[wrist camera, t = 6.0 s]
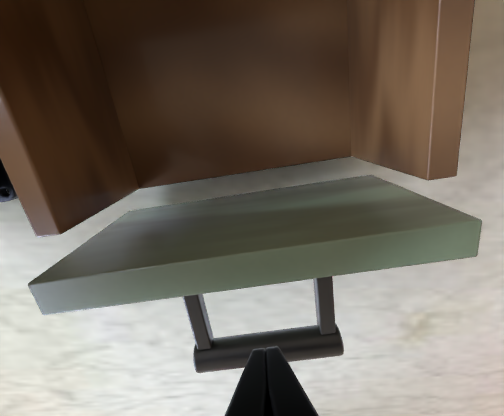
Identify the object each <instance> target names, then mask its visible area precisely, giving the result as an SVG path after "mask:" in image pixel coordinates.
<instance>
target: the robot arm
mask: <svg viewBox="0 0 504 416" xmlns="http://www.w3.org/2000/svg"><path fill="white" fill-rule="evenodd" d="M7 189H8V190H9V192H10V194H9V193H8V192H7ZM16 198H18V196H17V194H16V192H15V189H14V187H13V185H12V183H11V181H10V178H9V176H8V174H7V172H6V170H5V168H4V165H3V163H2V161H1V159H0V202H5V201H10V200H13V199H16ZM225 416H319V415H318V414H317V412H316V410H315V408H314V407H313V405H312V403H311V402H310V400H309V398H308V396H307V395H306V393H305V391H304V390H303V388H302V386H301V384H300V383H299V381H298V379H297V378H296V376H295V374H294V372H293V371H292V369H291V367H290V365H289V364H288V362H287V360H286V359H285V357H284V355H283V353H282V352H281V350H280V348H279V347H277V346H275V347H268V348H266V350H265V348H259V349H253V350H252V352H251V354H250V357H249V359H248V361H247V364H246V366H245V369H244V371H243V373H242V376H241V378H240V380H239V383H238V385H237V388H236V390H235V392H234V395H233V397H232V399H231V402H230V404H229V407H228V409H227V411H226V414H225Z"/></svg>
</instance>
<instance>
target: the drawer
mask: <svg viewBox="0 0 504 416" xmlns="http://www.w3.org/2000/svg"><path fill="white" fill-rule="evenodd" d="M474 3H475V0H0V159H1V161H2V163H3V165H4V168H5V170H6V172H7V174H8V176H9V178H10V181H11V183H12V185H13V187H14V189H15V192H16V194H17V196H18V198H19V200H20V202H21V205H22V207H23V209H24V211H25V213H26V215H27V218H28V220H29V222H30V224H31V226H32V229H33V231H34V233H35V235H36V236H37V237H45V236H51V235H58V234H62V233H64V232H66V231H67V230H69V229H71V228H73V227H74V226H76V225H78V224H79V223H81V222H83V221H85V220H86V219H88V218H90V217H91V216H93V215H95V214H97V213H98V212H100V211H102V210H103V209H105V208H107V207H109V206H110V205H112V204H114V203H116V202H117V201H119V200H121V199H122V198H124V197H126V196H128V195H129V194H131V193H133V192H134V191H136V190H138V189H141V188H148V187H155V186H161V185H168V184H174V183H181V182H187V181H194V180H200V179H207V178H214V177H220V176H227V175H233V174H240V173H246V172H253V171H259V170H266V169H273V168H279V167H286V166H292V165H299V164H305V163H312V162H318V161H325V160H332V159H338V158H345V157H351V156H352V157H355V158H358V159H361V160H364V161H368V162H371V163H374V164H377V165H380V166H384V167H387V168H390V169H393V170H396V171H400V172H403V173H406V174H409V175H413V176H416V177H419V178H422V179H425V180H434V179H441V178H447V177H454V176H456V175H457V167H458V157H459V148H460V138H461V128H462V119H463V109H464V99H465V90H466V80H467V70H468V61H469V51H470V41H471V32H472V22H473V12H474ZM481 226H482V220H481V219H478V218H476V217H473V216H471V215H468V214H466V213H464V212H461V211H459V210H456V209H454V208H451V207H449V206H446V205H444V204H442V203H439V202H437V201H434V200H432V199H429V198H427V197H424V196H422V195H420V194H417V193H415V192H412V191H410V190H407V189H405V188H403V187H400V186H398V185H395V184H393V183H390V182H388V181H385V180H383V179H381V178H378V177H376V176H373V175H366V176H360V177H353V178H346V179H340V180H333V181H326V182H320V183H313V184H306V185H299V186H293V187H286V188H279V189H273V190H266V191H259V192H253V193H246V194H239V195H233V196H226V197H219V198H212V199H206V200H199V201H192V202H186V203H179V204H172V205H166V206H159V207H152V208H146V209H139V210H132V211H128V212H127V213H126V214H124V215H123V216H121V217H120V218H119V219H117V220H116V221H115V222H113V223H112V224H110V225H109V226H108V227H106V228H105V229H103V230H102V231H101V232H99V233H98V234H96V235H95V236H94V237H92V238H91V239H89V240H88V241H87V242H85V243H84V244H82V245H81V246H80V247H78V248H77V249H76V250H74V251H73V252H71V253H70V254H69V255H67V256H66V257H64V258H63V259H62V260H60V261H59V262H57V263H56V264H55V265H53V266H52V267H50V268H49V269H48V270H46V271H45V272H43V273H42V274H41V275H39V276H38V277H37V278H35V279H34V280H32V281H31V282H30V283H28V286H29V288H30V290H31V292H32V294H33V296H34V298H35V300H36V302H37V304H38V306H39V308H40V310H41V312H42V314H43V315H49V314H56V313H63V312H71V311H78V310H86V309H93V308H100V307H108V306H115V305H123V304H130V303H137V302H145V301H152V300H160V299H167V298H174V297H182V296H183V299H184V303H185V306H186V310H187V313H188V317H189V321H190V324H191V328H192V331H193V335H194V338H195V342H196V344H195V347H194V367H195V370H196V372H198V373H203V372H211V371H219V370H228V369H236V368H244V367H245V366H246V364H247V361H248V359H249V357H250V354H251V352H252V350H253V349H259V348H265V350H266V348H268V347H275V346H277V347H279V348H280V350H281V352H282V353H283V355H284V357H285V359H286V360H287V362H292V361H300V360H309V359H317V358H325V357H333V356H341V355H343V351H344V348H343V342H342V337H341V334H340V331H339V328H338V327H337V325H336V324H335V314H334V297H333V281H332V276H337V275H344V274H352V273H359V272H366V271H374V270H381V269H389V268H396V267H403V266H411V265H418V264H426V263H433V262H440V261H448V260H455V259H462V258H470V257H476V256H477V254H478V247H479V240H480V233H481ZM307 279H313V281H314V292H315V303H316V315H317V325H314V326H306V327H299V328H291V329H283V330H275V331H267V332H260V333H252V334H244V335H236V336H228V337H221V338H213V334H212V330H211V326H210V322H209V318H208V314H207V310H206V306H205V302H204V298H203V294H204V293H211V292H219V291H226V290H233V289H241V288H248V287H256V286H263V285H270V284H278V283H285V282H293V281H300V280H307Z"/></svg>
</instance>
